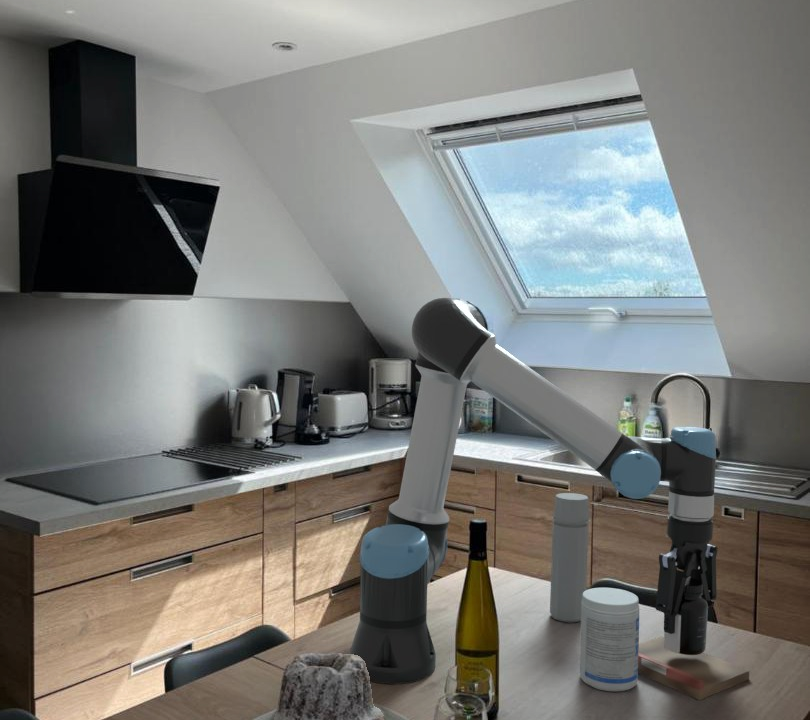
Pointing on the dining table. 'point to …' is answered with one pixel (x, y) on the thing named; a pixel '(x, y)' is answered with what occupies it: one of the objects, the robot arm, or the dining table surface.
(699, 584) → the supplement bottle
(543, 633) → the dining table surface
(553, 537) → the water bottle
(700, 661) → the beige hardcover book
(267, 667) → the dining table surface
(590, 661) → the supplement tub
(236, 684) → the dining table surface
